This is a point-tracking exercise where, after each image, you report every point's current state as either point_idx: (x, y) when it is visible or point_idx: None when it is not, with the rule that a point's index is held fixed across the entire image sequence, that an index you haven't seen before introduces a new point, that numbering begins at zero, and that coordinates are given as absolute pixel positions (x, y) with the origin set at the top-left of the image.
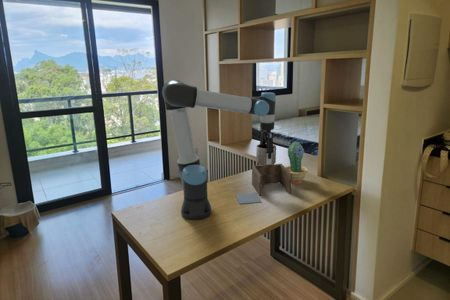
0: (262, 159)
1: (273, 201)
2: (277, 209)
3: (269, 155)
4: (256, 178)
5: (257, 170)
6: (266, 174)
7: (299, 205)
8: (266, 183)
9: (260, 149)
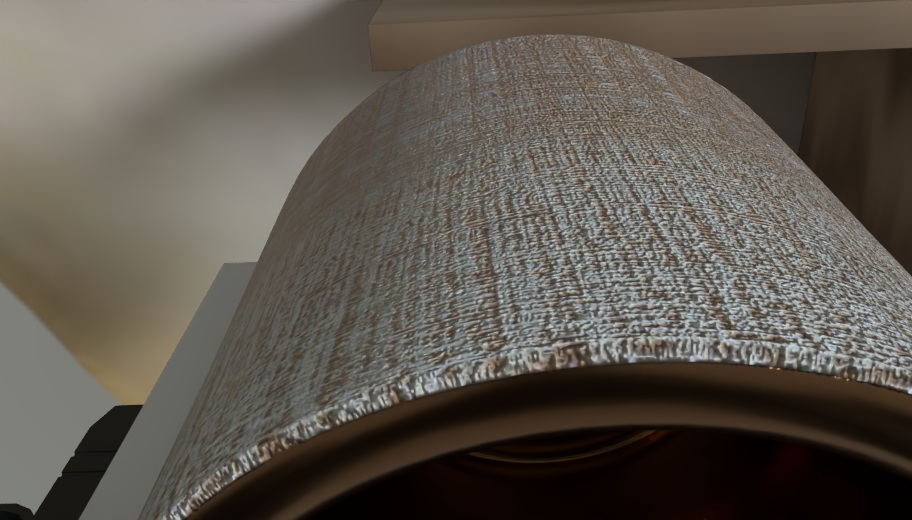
0: (272, 232)
1: (235, 112)
2: (20, 104)
3: (54, 518)
4: None
5: (711, 49)
6: (861, 211)
7: (143, 339)
8: (800, 158)
9: (240, 405)
